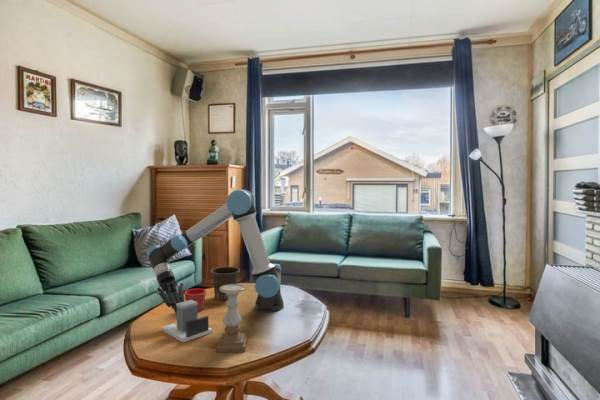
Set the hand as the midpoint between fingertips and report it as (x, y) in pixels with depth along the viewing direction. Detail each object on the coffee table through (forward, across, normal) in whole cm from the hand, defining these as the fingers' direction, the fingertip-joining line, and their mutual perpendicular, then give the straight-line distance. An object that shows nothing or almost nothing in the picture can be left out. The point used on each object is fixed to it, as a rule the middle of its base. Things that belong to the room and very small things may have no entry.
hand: (182, 318), depth 159 cm
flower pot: (-9, -18, -16) cm, 26 cm away
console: (+6, 0, -1) cm, 6 cm away
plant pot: (-12, -40, -20) cm, 47 cm away
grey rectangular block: (+5, 0, 0) cm, 5 cm away
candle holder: (+25, -5, +17) cm, 31 cm away
